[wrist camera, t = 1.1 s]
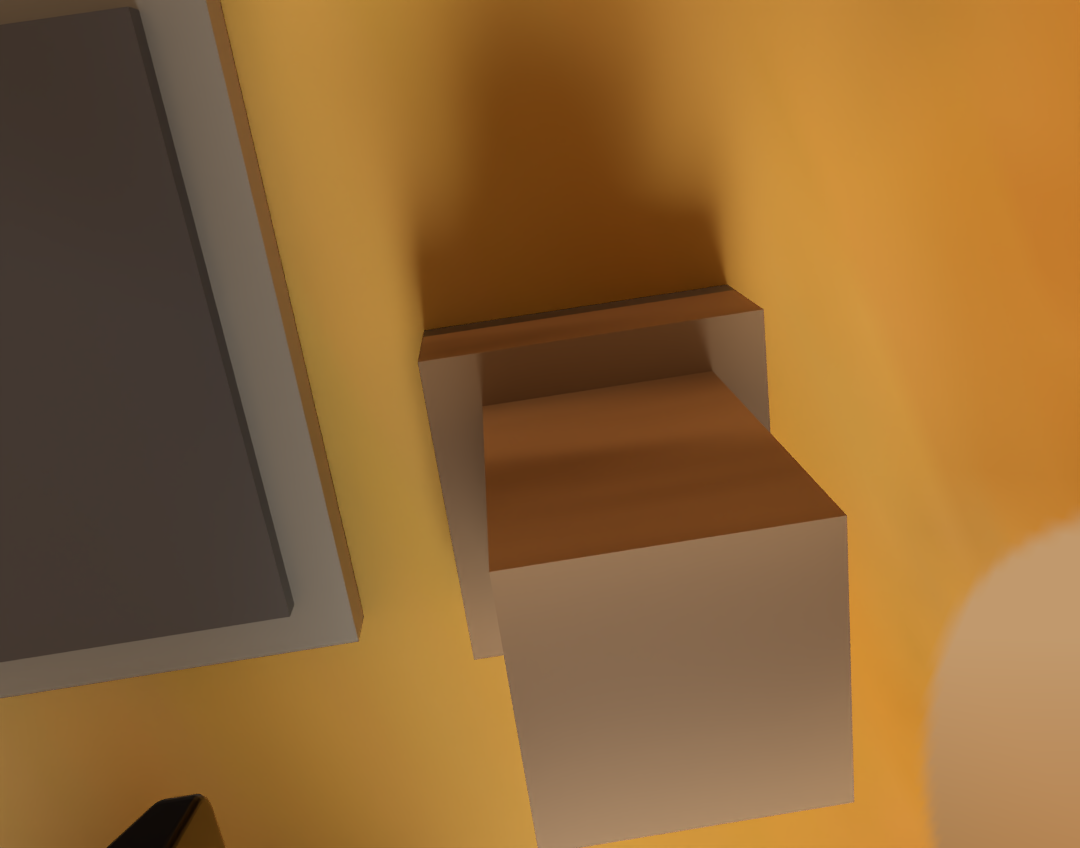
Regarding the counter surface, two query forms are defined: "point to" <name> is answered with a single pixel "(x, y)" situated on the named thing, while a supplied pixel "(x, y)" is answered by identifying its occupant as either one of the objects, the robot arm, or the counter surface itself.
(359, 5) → the counter surface
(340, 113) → the counter surface
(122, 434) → the ink pad
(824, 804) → the stamp
